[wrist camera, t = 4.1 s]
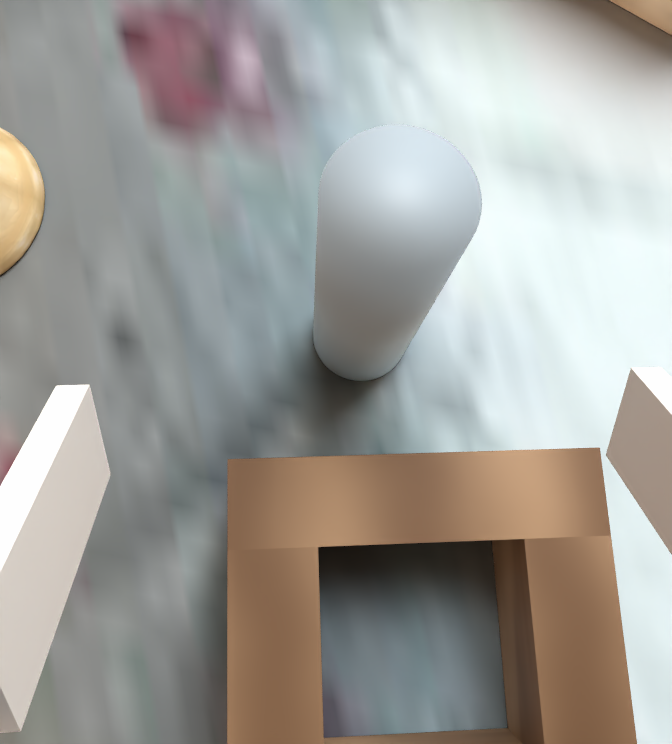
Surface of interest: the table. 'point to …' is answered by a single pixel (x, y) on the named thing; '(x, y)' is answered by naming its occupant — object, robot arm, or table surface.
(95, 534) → the table surface
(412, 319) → the peg
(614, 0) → the wooden tray
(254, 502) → the socket
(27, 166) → the hand bell
